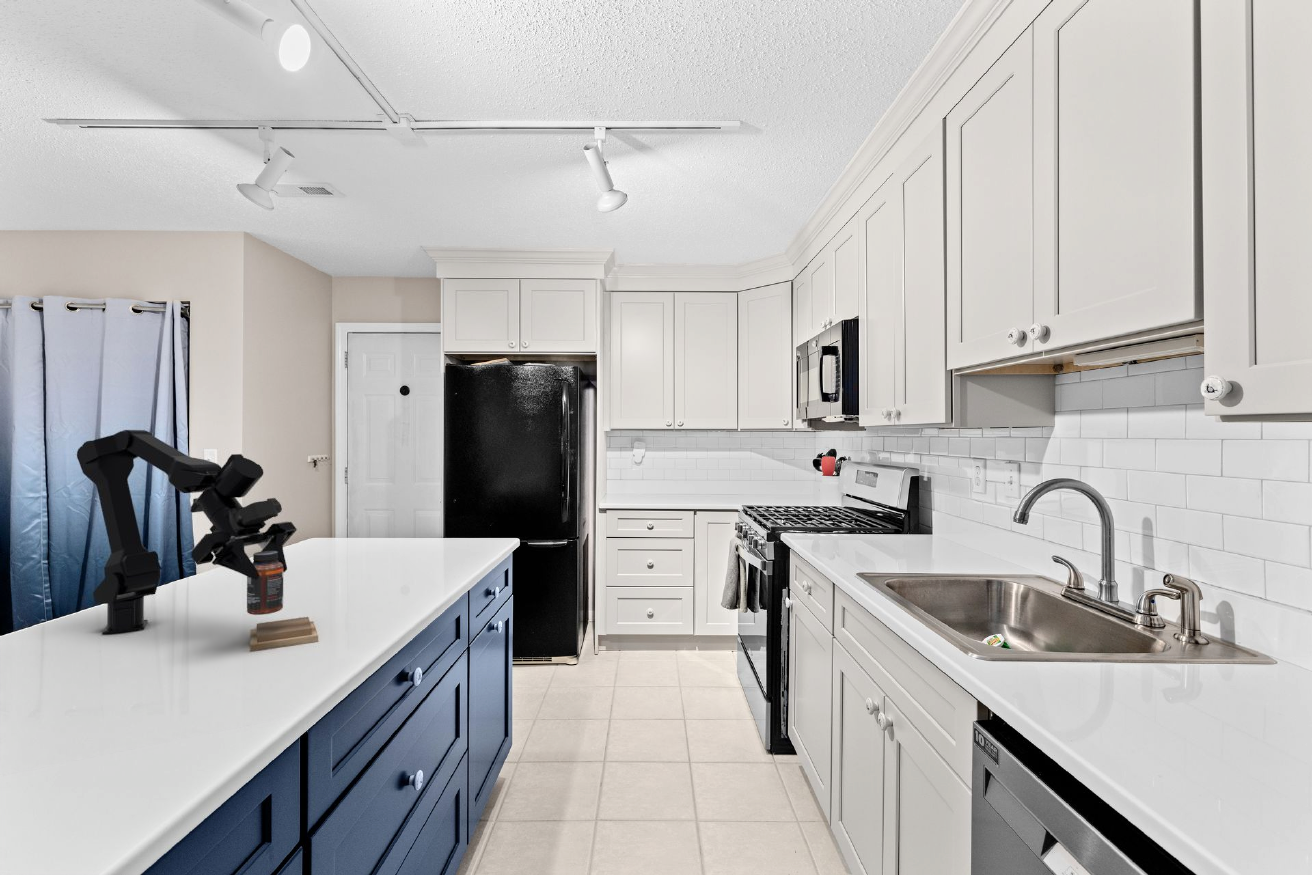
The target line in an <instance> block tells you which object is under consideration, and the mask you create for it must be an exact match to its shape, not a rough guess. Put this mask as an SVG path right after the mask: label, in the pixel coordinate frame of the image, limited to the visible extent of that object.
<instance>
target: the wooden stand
mask: <svg viewBox="0 0 1312 875" xmlns="http://www.w3.org/2000/svg"><path fill="white" fill-rule="evenodd" d="M317 642H319V634H318V630H317V628H316V625H315V622H314V621H310V618H309V616H303V617H298V618H289V619H282V620H273V621H267V622H258V623H256V628H252V629H250V652H251V653H252V652H256V651H264V650H270V649H271V650H272V649H277V648H283V647H291V646H292V647H293V646H297V645H303V644H311V643H317Z"/></svg>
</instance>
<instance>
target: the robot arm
mask: <svg viewBox="0 0 1312 875" xmlns="http://www.w3.org/2000/svg"><path fill="white" fill-rule="evenodd" d="M138 458H140V459H141V460H143V461H144V462H146V463H147V464H150V465H152V466H153V467H155V468H156V469H158V470H160V471H161V472H164V473H165V474H166V475H167V478H168V482H169V484H171V485H172V486H173V487H174V488H175V489H177V491H179V492H180V493H182V494H194V493H201V494H200V495H199V496H198V497H197V498H196V497H195V498H193V500H192V504H191V506H190V512H191V513H202V512H203V514H204V515H205V516H206V518H207V520H208V521H209V522H210V523H211V524H212V526H210V528H209V531H210V532H211V533H205V534H204V535H203V536H202V538H200V540H199V541H198V543H197V544H196V545H194V547H193V549H192V550H191V555H190V557H191V558H192V560H193V562H194V563H195V564H196V565H203V564H209V563H211V564H212V565H213V566H216V565H218V566H221V567H224V568H226V569H229V570H231V571H234V572H236V573H239V574H241V575H244V577H245V576H246V577H247V576H248V577H250V578H252V579H254V580H255V579H257V578H258V577H259V573H258V571H257V569H256V568H255V566H254V565H253V561H252V560H251V559H250V558H249V556H248V554H247V553H246V552H245V547H250V546H254V545H258V546H259V547H260V548H261V551H260V552H262V551H277V552H278V558H277V559H278V561H279V562H281V563H282V564H283V573H286V571H287V570H288V567H287V561H286V557H285V553H284V545H285V544H286V543H287V542H288V541H289V540H290V538H292V536H293V535H294V534H295V533H296V532H297V531H298V528H296V526H295V525H294V524H293V522H292V521H281V522H275V523H272V524H271V525H270V526H269V527H268V528H267V529H266V531H265V532H262V531H260V530H261V529H263V528H264V527H265V526H266V525H267V524H266V521H268V520H270V519H272V518H276V517H278V516H279V514H280V513H281V512H282V511H283V507H282V504H281V503H280V501H278V500H277V498H276V497H272V498H271V497H270V498H267V499H266V500H263V501H255V502H252V503H249V504H248V505H246V506H244V507H243V505H242V504H241V503H240V502H239V501H238V499H239V498H243V497H245V496H247V494H248V493H249V492H250V491H251V490H252V489H253V487H254V486H255V485H256V484H257V483H258V482H259V480H260V479H261V478H262V477H263V476H264V469H263V468H262V466H261V465H260V463H259V464H258V463H257V462H255V461H254V460H252V459H250V458H246V457H244V456H243V454H242V453H235V454H234V453H233V454H231V455H230V456H228V458H227V460H226V462H225V463H224V465H223V466H222V467H221V465H219V463H216V462H213V461H209V460H208V459H203V458H196V457H193V456H189V455H187V454H186V453H183V452H181V451H179V450H178V449H177V448H175V447H173V446H171V445H170V444H168V443H166V442H164V441H163V440H160V439H159V438H157V437H155V436H154V435H153V434H152V433H151V431H148V430H145V429H123V430H121V431H118V432H116V433H114V434H111V435H107V436H103V437H100V438H95V439H94V440H88V441H87V440H86V441H85V442H83V444H82V445H81V446H80V447H79V448H78V450H77V452H76V459H77V461H78V464H79V465H80V469H81V471H82V474H83V475H84V476H86V477H87V478H88V480H90V481H91V482H92V483H93V484H94V485H96V490H97V495H98V498H99V503H100V508H101V512H102V516H103V520H104V524H105V525H104V526H105V530H106V534H107V539H108V543H109V548H110V555H109V557H108V560H107V561H106V563H105V565H104V579H103V580H102V581H101V582H100V584H98V586H97V587H96V588H95V589H94V590H93V592H92V596H93V599H94V602H95V603H96V604H105V605H106V604H107V607H106V608H107V615H106V616H107V617H106V618H107V619H106V620H107V624H106V626H105V627H104V629H103V630H102V631H101V634H102V635H107V634H108V635H109V634H116V633H123V632H124V633H125V632H132V631H141V630H145V628H146V626H147V624H148V621H149V620H148V619H144V617H145V615H144V614H145V610H144V608H145V605H144V604H145V597H146V596H153V595H155V594H156V593H157V590H158V586H159V582H160V580H161V577H162V576H161V574H162V573H161V570H162V569H163V568H162V566H161V565H160V561H159V554H158V552H157V551H155V550H153V551H149V549H146V547H144V545H143V543H142V538H141V533H140V529H139V524H138V520H137V516H136V511H135V506H134V503H133V497H132V493H131V490H130V485H129V477H130V475H131V473H132V471H133V469H134V467H135V462H134V460H135V459H138ZM237 498H238V499H237ZM214 557H215V558H214Z"/></svg>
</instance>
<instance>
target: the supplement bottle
mask: <svg viewBox="0 0 1312 875" xmlns="http://www.w3.org/2000/svg"><path fill="white" fill-rule="evenodd" d="M261 551H262V550H261ZM261 551H257V552H254V553H253V555H252V560H253V561H252V563H253V565H254V566H255V568H256V569H257V571H258V573H259V577H258V578H257V579H255V580H254V579H252V578H250V577H248V576H246V612H247V614H248V615H253V616H260V615H270V614H274V613H275V614H276V613H277V612H280V611H281V610H282V609H283V608H284V572H283V564H282V563H281V562H279V561H278V559H277V558H278V552H277V551H262V552H261Z"/></svg>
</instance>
